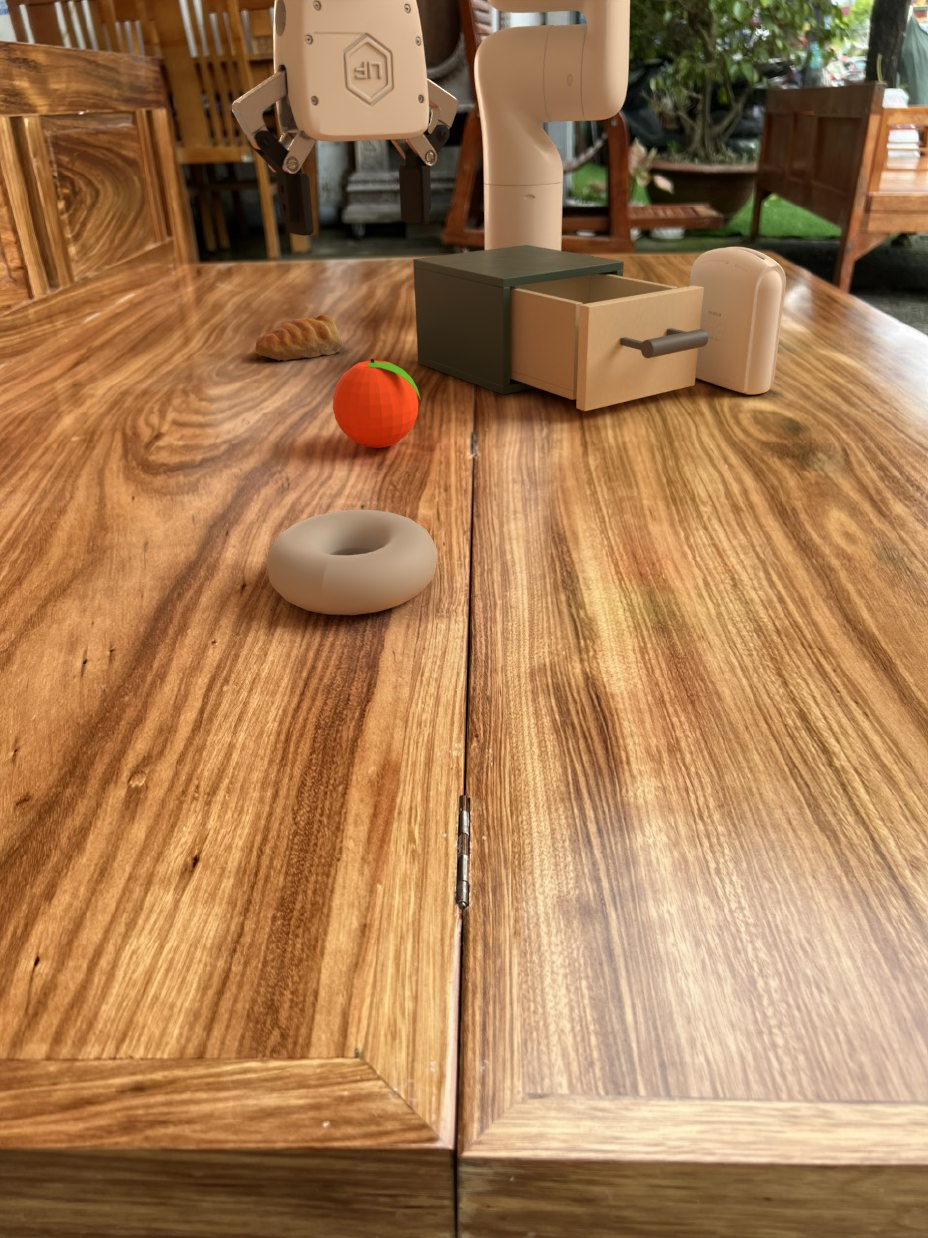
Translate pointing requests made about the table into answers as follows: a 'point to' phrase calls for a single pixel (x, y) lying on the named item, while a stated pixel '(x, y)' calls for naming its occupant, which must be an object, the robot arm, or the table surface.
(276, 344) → the pastry
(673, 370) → the drawer
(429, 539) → the donut
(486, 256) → the cabinet
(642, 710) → the table surface
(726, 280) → the photo printer
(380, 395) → the clementine
